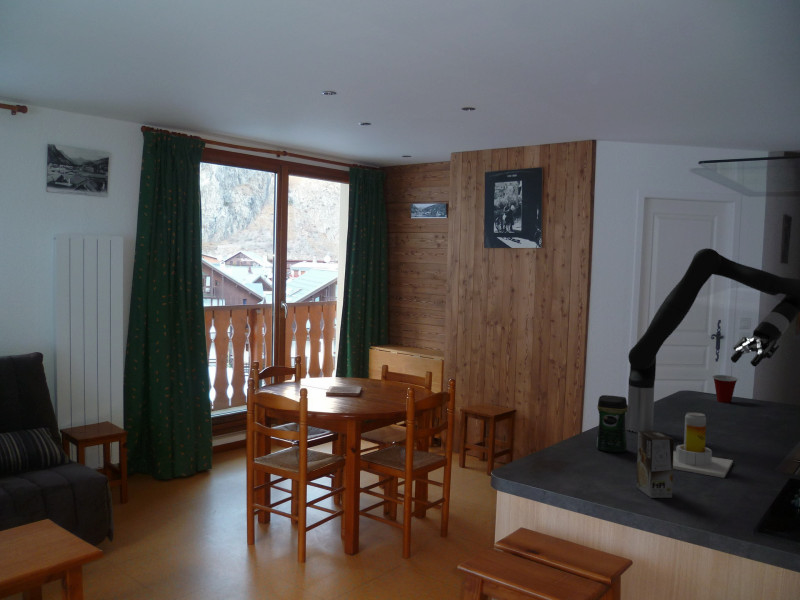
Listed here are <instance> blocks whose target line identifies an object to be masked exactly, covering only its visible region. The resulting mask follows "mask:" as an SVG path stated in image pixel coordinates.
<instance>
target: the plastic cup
mask: <svg viewBox="0 0 800 600" xmlns="http://www.w3.org/2000/svg"><path fill="white" fill-rule="evenodd" d="M712 378H713V382H714V388H715V394H716V401H717V402H718V403H723V404H725V403H726V404H730V403H732V400H733V396H734V391H735V387H736V383H737V381H739V379H738V377H737V376H732V375H726V374H716V375H712Z"/></svg>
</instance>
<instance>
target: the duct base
mask: <svg viewBox="0 0 800 600" xmlns="http://www.w3.org/2000/svg"><path fill="white" fill-rule="evenodd" d="M675 447H676V449H675V450H674V452H673V470H678V471H682V472H689V473H695V474H700V475H707V476H712V477H717V478H723V479H724V478H725V477H726V475H727V474H728V472H729V471H730V468H732V465H733V464H732V463H733V459H726V458H720V457H716V456H715V457H714V456H713V451H712V449H710V448H709V447H706V446H705V452H691V451H686V450H684V443H683V444H677V446H675Z"/></svg>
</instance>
